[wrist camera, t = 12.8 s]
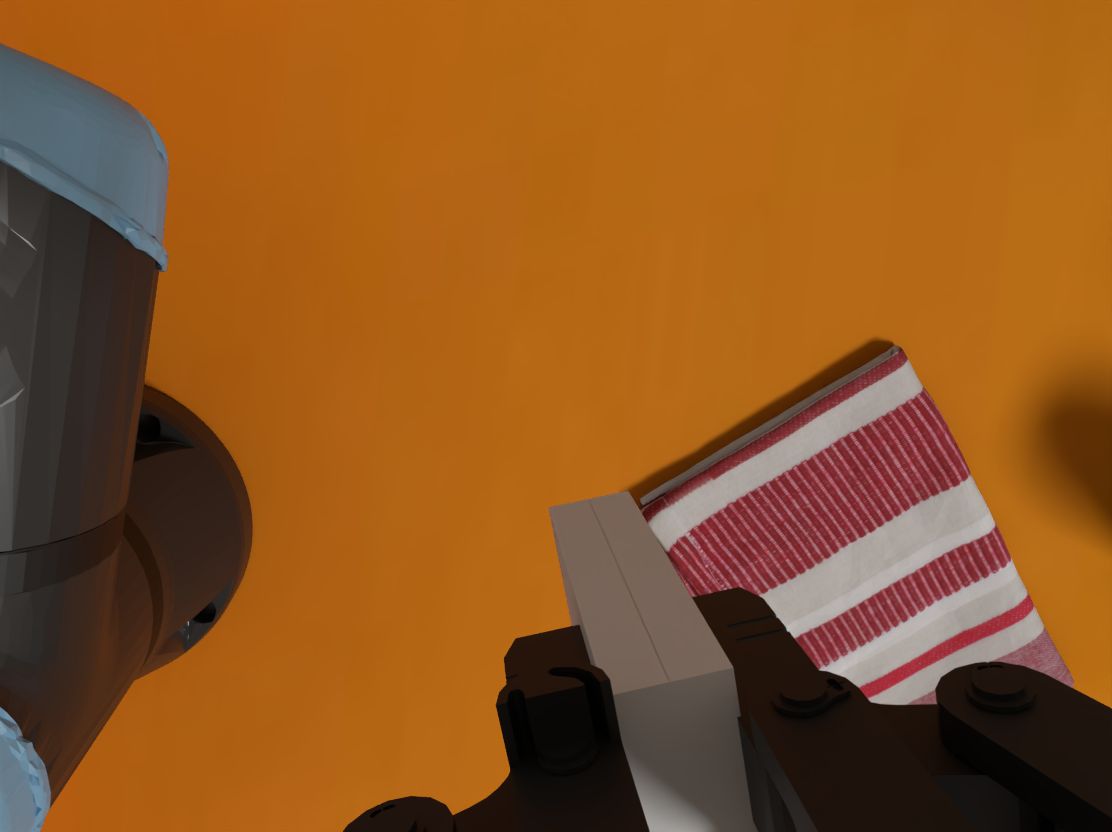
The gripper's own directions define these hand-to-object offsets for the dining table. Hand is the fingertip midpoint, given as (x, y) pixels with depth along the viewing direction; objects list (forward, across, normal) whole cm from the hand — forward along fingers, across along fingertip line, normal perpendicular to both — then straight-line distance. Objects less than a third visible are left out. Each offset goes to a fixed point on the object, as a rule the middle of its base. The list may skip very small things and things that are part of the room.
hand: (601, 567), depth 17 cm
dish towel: (+30, +16, -18) cm, 39 cm away
